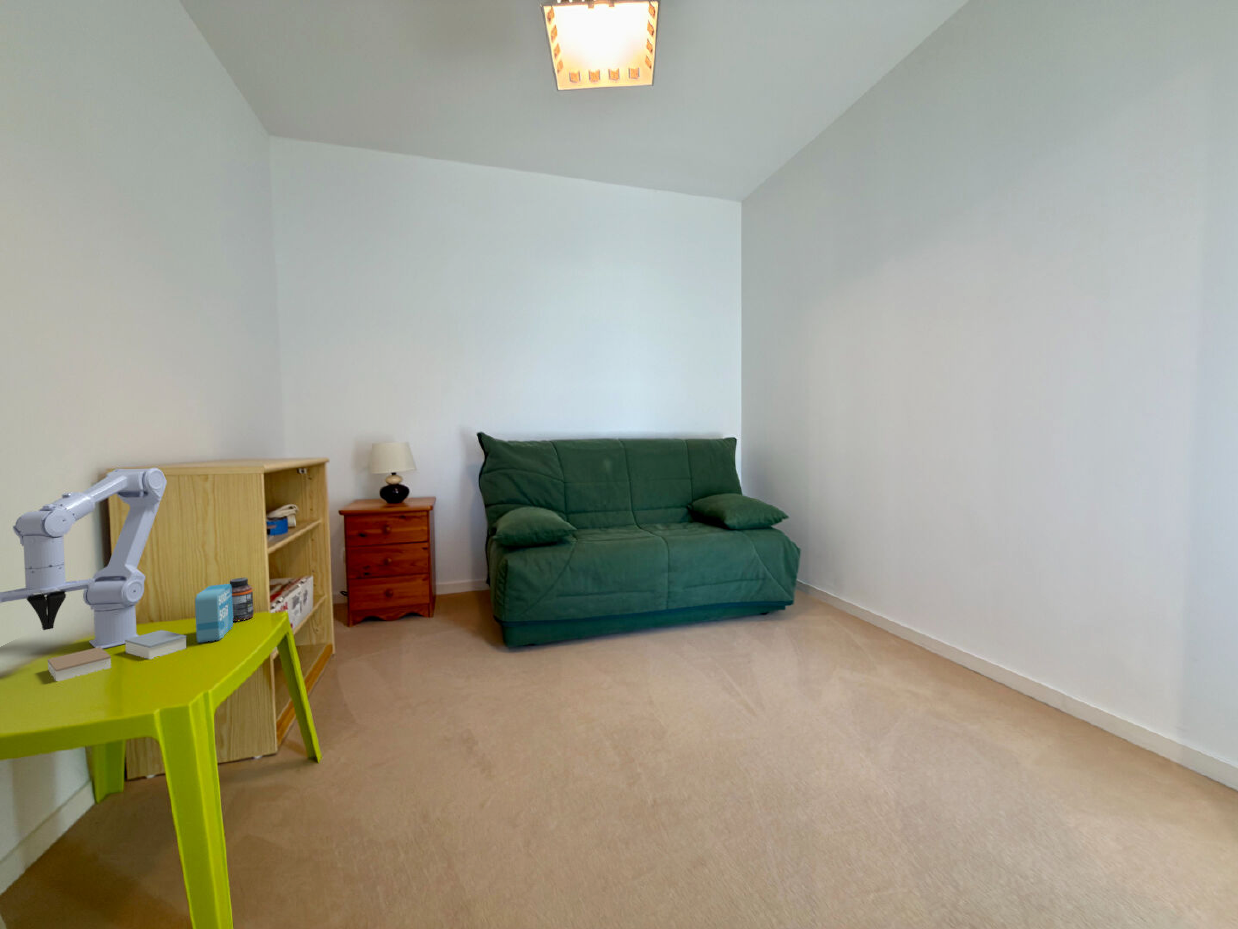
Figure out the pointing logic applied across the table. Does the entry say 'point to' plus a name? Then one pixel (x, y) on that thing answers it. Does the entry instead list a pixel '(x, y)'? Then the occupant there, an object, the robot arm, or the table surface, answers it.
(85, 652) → the book walnut
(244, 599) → the supplement bottle
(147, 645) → the book grey
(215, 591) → the blue box
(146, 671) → the table surface
